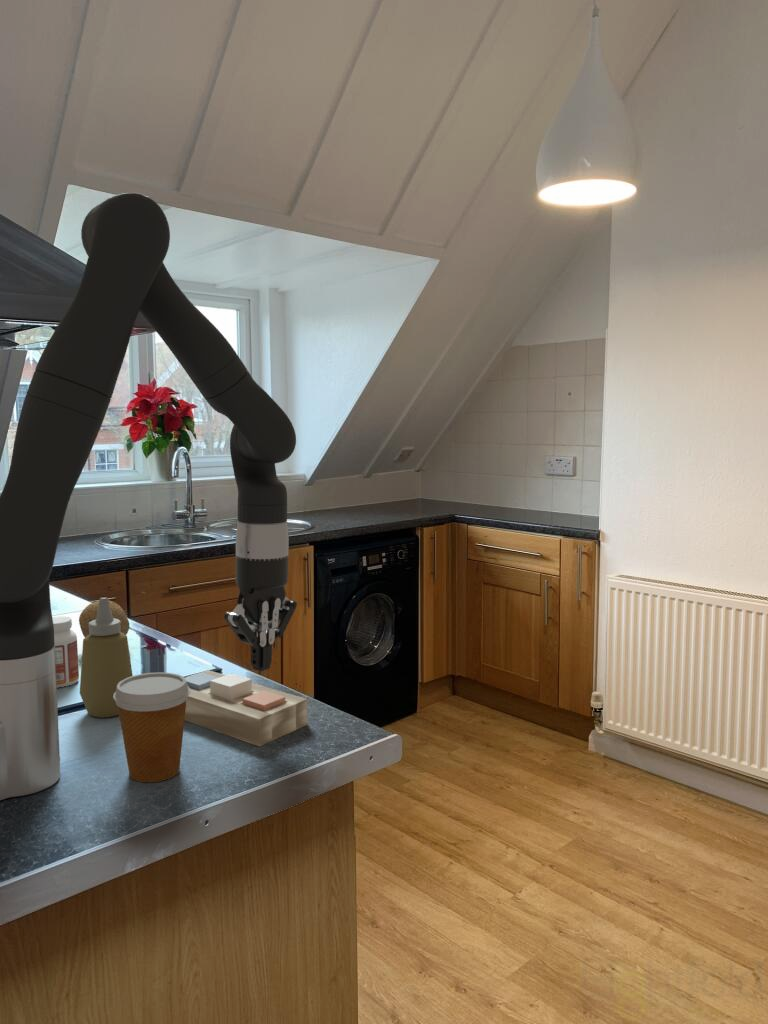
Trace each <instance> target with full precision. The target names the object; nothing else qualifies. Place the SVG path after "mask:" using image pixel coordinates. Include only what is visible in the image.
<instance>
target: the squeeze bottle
mask: <svg viewBox="0 0 768 1024" xmlns="http://www.w3.org/2000/svg"><path fill="white" fill-rule="evenodd" d="M108 600H109V599H108V597H99V600H98V601H99V606H98V611H97V617H96V620H93V621H91V622H89V633H90V634H89V635H88V636H86V637H84V638H83V639H82V652H81V663H80V665H81V667H80V680H79V681H80V683H79V695H80V699H81V700H82V702H83V704H84V707H85V710H86V712H87V714H88V715H89V716H91V717H94V718H112V717H117V716H119V711H118V706H117V705H116V702H115V700H114V699H113V695H114V693H115V692H116V688H117V685H118V683H119V682H120V681H122V680H124V679H126V678H128V677H131V676H134V674H133V668H132V661H131V653H130V647H129V639H128V636H127V635H125V634H124V633H122V632H120V631H121V624H120V620H119V619H115V618H113V616H112V612H111V608H110V605H109V601H110V600H109V601H108Z"/></svg>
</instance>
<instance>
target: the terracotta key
mask: <svg viewBox="0 0 768 1024" xmlns="http://www.w3.org/2000/svg"><path fill="white" fill-rule="evenodd" d="M284 703H285V697H284V696H281V695H277V694H274V693H271V692H267V691H261V692H259V693H256V694H254V695H251V696H248V697H246V698H243V705H245V706H248V707H252V708H255V709H258V710H261V711H266V710H269V709H271V708H274V707H276V706H279V705H281V704H284Z"/></svg>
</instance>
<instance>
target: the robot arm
mask: <svg viewBox="0 0 768 1024" xmlns="http://www.w3.org/2000/svg"><path fill="white" fill-rule="evenodd" d="M80 233H81V234H80V235H81V242H82V246H83V248H84V250H85V251H84V252H85V253H86V256H87V261H86V265H85V267H84V271H83V274H82V278H81V281H80V285H79V286H78V287H79V288H78V289H77V292H76V294H75V296H74V298H73V301H72V302H71V304H70V305H69V307H68V309H67V311H66V312H65V314H64V315H63V317H62V318H61V320H60V322H59V324H58V325H57V326H56V328H55V330H54V332H53V333H52V334H51V336H50V339H49V340H48V342H47V343H46V346H45V347H44V349H43V351H42V353H41V355H40V357H39V360H38V361H37V364H36V367H35V369H34V372H33V374H32V377H31V380H30V383H29V385H28V389H27V392H26V394H25V397H24V400H23V403H22V407H21V411H20V412H19V418H18V422H17V426H16V431H15V436H14V442H13V449H12V453H11V454H12V455H11V459H10V466H9V470H8V475H7V477H6V481H5V484H4V485H3V489H2V492H1V493H0V801H2V800H5V799H8V798H15V797H23V796H28V795H31V794H35V793H39V792H41V791H43V790H46V789H48V788H49V787H52V786H53V785H55V784H56V783H57V782H58V781H59V779H61V755H60V753H61V752H60V733H59V732H60V731H59V715H58V714H59V712H58V710H59V709H58V690H57V689H58V688H57V686H56V663H55V643H54V625H53V619H52V617H53V614H52V604H51V590H50V586H51V585H50V576H51V574H52V571H53V567H54V562H55V558H56V553H57V549H58V544H59V539H60V535H61V531H62V527H63V524H64V520H65V516H66V512H67V509H68V505H69V502H70V499H71V498H72V495H73V493H74V492H73V491H74V489H75V487H76V485H77V483H78V481H79V479H80V476H81V475H82V472H83V470H84V468H85V466H86V463H87V461H88V458H90V457H89V456H90V455H91V452H92V450H93V446H94V444H95V442H96V439H97V437H98V435H99V432H100V430H101V427H102V426H103V423H104V420H105V417H106V415H107V412H108V408H109V405H110V404H111V400H112V397H113V394H114V391H115V388H116V384H117V382H118V378H119V376H120V372H121V369H122V366H123V363H124V360H125V357H126V354H127V350H128V347H129V343H130V340H131V337H132V332H133V329H134V326H135V323H136V320H137V317H138V314H139V313H140V314H141V315H142V316H143V317H144V318H145V320H146V321H147V322H148V323H149V324H150V325H151V327H152V328H153V329H154V331H155V332H156V333H157V335H158V336H159V337H160V339H162V340H163V341H162V342H164V344H165V345H166V346H167V348H168V349H169V350H170V352H171V353H172V354H173V356H174V357H175V358H176V360H177V362H179V364H180V366H181V367H182V369H183V370H184V371H185V373H186V374H187V375H188V377H189V378H190V380H191V381H192V383H193V384H194V385H195V387H196V388H197V390H198V391H199V392H200V394H201V395H202V397H203V398H204V399H205V401H206V402H207V404H209V406H210V407H211V408H212V409H213V410H214V411H215V412H216V413H219V414H221V415H223V416H225V417H226V418H227V419H228V420H229V421H230V422H231V423H232V424H233V426H232V428H231V431H230V437H229V451H230V452H229V453H230V459H231V463H232V464H231V465H232V469H233V473H234V474H233V476H234V479H235V484H236V488H237V524H236V525H237V526H236V532H235V533H236V534H235V584H236V585H237V587H238V589H239V591H238V596H237V598H236V604H237V605H236V606H235V608H234V609H233V610H232V611H226V612H225V613H224V616H223V618H224V621H225V622H226V623H227V624H228V626H229V627H230V629H231V630H232V631H233V633H234V634H235V636H236V637H237V638H238V640H239V642H241V643H245V644H248V645H250V665H251V667H252V669H253V670H255V671H259V672H263V671H266V670H270V669H271V665H272V662H273V661H272V657H273V653H272V651H273V650H272V648H273V647H272V645H273V644H274V643H275V640H276V639H277V638H279V639H280V638H282V637H283V635H284V633H285V631H286V629H287V627H288V625H289V623H290V620H291V619H292V617H293V614H294V612H295V611H296V608H297V606H298V605H297V602H296V601H295V600H290V599H289V598H288V597H287V593H286V589H285V586H286V585H287V584H288V583H289V547H290V546H289V541H290V540H289V537H290V536H289V530H288V492H287V487H286V485H285V483H283V482H282V481H281V480H280V479H279V478H278V475H277V470H276V469H277V468H276V464H279V463H282V462H284V461H287V459H289V458H290V457H291V456H292V454H293V453H294V451H295V449H296V445H297V434H296V430H295V428H294V424H293V423H292V421H291V420H290V418H289V417H288V415H287V414H286V412H285V411H284V410H283V408H281V407H280V405H279V404H278V403H277V402H276V401H275V400H274V399H273V398H272V397H271V396H270V395H269V394H268V393H267V391H266V390H264V388H262V386H260V385H259V384H258V383H257V382H256V381H255V380H254V378H253V376H252V374H250V372H249V370H248V369H247V367H246V365H245V364H244V363H243V361H242V359H241V358H240V356H239V355H238V354H237V352H236V351H235V349H234V348H233V346H232V345H231V344H230V342H229V341H228V340H227V338H226V337H225V336H224V335H223V334H222V333H221V331H220V330H219V329H218V328H217V327H216V326H215V325H214V324H213V322H211V321H210V320H209V318H207V317H206V316H205V315H204V314H203V313H202V312H201V311H200V310H199V309H198V308H197V307H196V305H194V304H193V303H192V301H191V300H190V299H189V298H188V297H187V295H186V294H185V293H184V292H183V291H182V290H181V288H180V287H179V286H178V284H177V283H176V281H175V280H174V278H173V277H172V276H171V273H170V272H169V271H168V269H167V268H166V265H165V263H164V260H165V259H166V256H167V253H168V251H169V247H170V241H171V231H170V225H169V222H168V219H167V216H166V214H165V212H164V211H163V208H162V207H161V206H160V205H159V203H158V202H156V201H155V200H154V199H153V198H151V197H150V196H147V195H145V194H142V193H138V192H123V193H119V194H116V195H115V194H114V195H112V196H110V197H108V198H106V199H104V200H103V201H102V202H100V203H99V204H97V205H96V206H94V207H93V208H91V210H90V211H89V212H88V213H87V215H86V216H85V217H84V218H83V222H82V226H81V232H80Z"/></svg>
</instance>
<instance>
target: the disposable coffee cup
mask: <svg viewBox="0 0 768 1024" xmlns="http://www.w3.org/2000/svg"><path fill="white" fill-rule="evenodd" d="M189 693H190V688H189V686H187V682H186V679H185V676H183V675H180V674H177V673H173V672H165V671H164V672H161V671H160V672H145V673H139V674H135V675H133V676H131V677H128V678H126V679H124V680H122V681H120V682H119V683H118V685H117V688H116V692H115V693H114V695H113V699H114V700H115V702H116V705H117V706H118V711H119V715H118V716H119V721H120V727H121V731H122V732H121V734H122V739H123V745H124V751H125V757H126V762H127V768H128V774H129V777H130V778H131V779H132V780H134V781H136V782H140V783H156V782H162V781H166V780H169V779H171V778H173V777H175V776H176V775H177V774H178V773H179V772H180V764H181V758H182V747H183V737H184V729H185V720H184V719H185V710H186V700H187V698H188V695H189Z"/></svg>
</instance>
